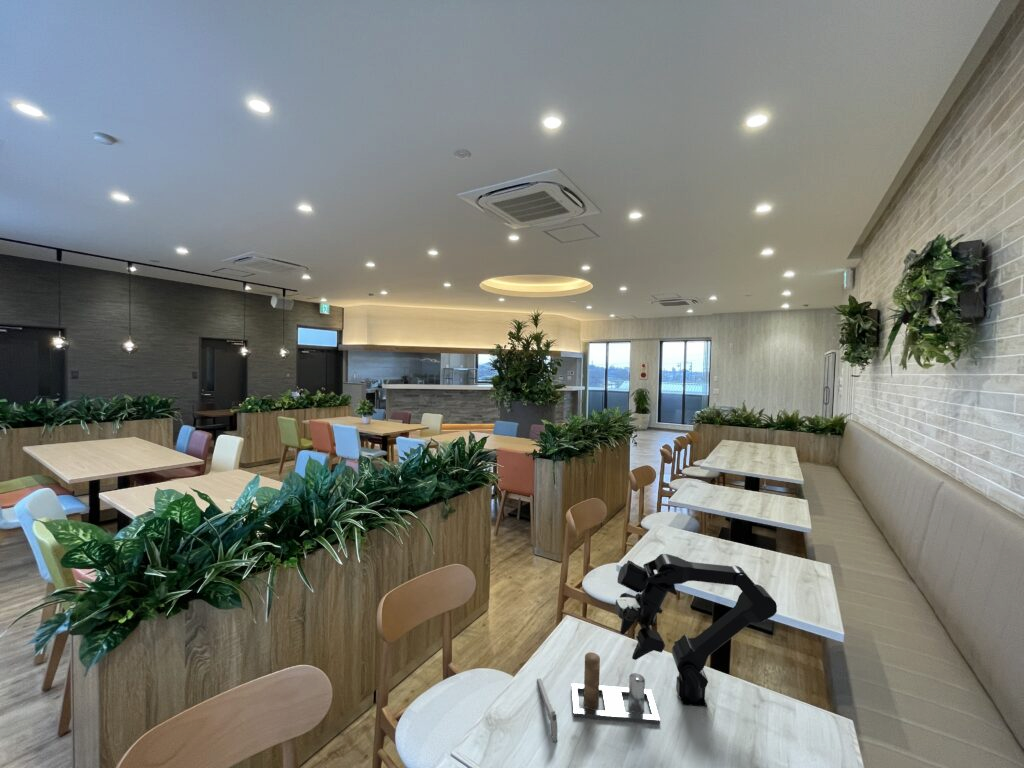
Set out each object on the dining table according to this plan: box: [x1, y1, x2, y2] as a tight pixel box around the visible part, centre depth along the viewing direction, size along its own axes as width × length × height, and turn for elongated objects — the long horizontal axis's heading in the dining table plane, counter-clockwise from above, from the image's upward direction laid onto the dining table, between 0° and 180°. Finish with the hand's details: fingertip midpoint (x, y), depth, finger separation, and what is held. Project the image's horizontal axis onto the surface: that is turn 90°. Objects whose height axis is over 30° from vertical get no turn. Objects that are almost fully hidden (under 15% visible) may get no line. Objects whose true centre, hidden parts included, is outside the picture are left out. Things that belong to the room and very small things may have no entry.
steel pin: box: [627, 672, 646, 714], centre depth 114 cm, size 4×4×8 cm
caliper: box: [536, 678, 558, 742], centre depth 113 cm, size 20×1×6 cm, turn 8°
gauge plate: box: [571, 682, 661, 725], centre depth 114 cm, size 22×10×1 cm, turn 85°
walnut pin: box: [583, 652, 601, 710], centre depth 115 cm, size 4×4×13 cm
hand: (627, 645), depth 119 cm, fingers open, 9 cm apart
